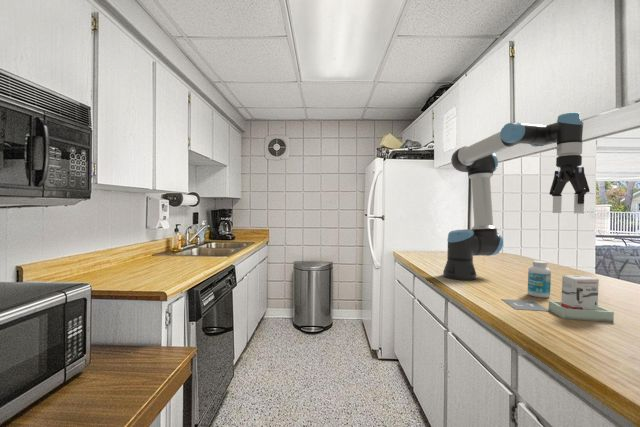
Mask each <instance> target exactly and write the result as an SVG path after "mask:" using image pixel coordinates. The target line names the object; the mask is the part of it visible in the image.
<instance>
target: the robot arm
mask: <svg viewBox="0 0 640 427" xmlns="http://www.w3.org/2000/svg"><path fill="white" fill-rule="evenodd" d="M583 131H584V121H583V122H582V121H580V119H579V114H578V113H577V111H573V112H571V111H570V112H565V113H562V114H560V115H558V117H557V119H556V122H554V123H550V124H545V125H543V124H532V123H521V122H508V123H506V124H504V126H503V127H502V128H501V130H500V131H499V132H497V133H495V134H492V135H490V136H488V137H485V138H483V139H482V140H479V141H476V142H475V143H473V144H471V145H469V146H468V145H467V146H466V145H464V146H462V147H459V148H457V149H456V150H455V151H454V152H453V153H452V155H451V158H450V159H451V160H450V161H451V162H450V163H451V165H452V166H453V168H454V169H455V170H456V171H458V172H461V173H467V176H468V179H470V180H471V190H472V191H471V193H472V194H471V195H472V210H473V212H472V213H473V227H472V228H470V229H469V228H468V229H466V228H465V229H454V230H451V231H449V232H448V234H447V258H446V263H445V266H444V268H443V271H442V272H443V274H442V276H443V277H444V278H447V279H452V280H460V281H473V280H476V279H477V272H476V269H475V265H474V257H475V256H476V257H477V256H478V257H479V256H486V257H487V256H488V257H490V256H496V255H497V254H499V253H500V252H501V251H502V249H503V246H504V238H503V236H502V234H501V233H500V232H498V228H497V227H496V226H494V220H493V218H494V217H493V204H492V203H493V202H492V190H491V188H492V186H491V185H492V184H491V178H492V177H493V176H494V173H495V171H496V170H497V169H498V165H499V160H498V156H497V155H496V153H498V152H501V151H503V150H504V151H505V150H506V149H508V148H509V149H510V148H511V147H513V146H516V145H520V144H523V145H524V144H525V145H530V146H532V147H534V148H535V147H543V146H547V145H552V144H555V143H556V148H555V150H556V157H555V160H556V161H555V166H556V167H557V168H559V170H554V176H553V180H552V183H551V186H550V189H549V195H551V196H552V214H562V202H563V201H562V198H563V195H562V193H563V190H564V189H565V187H566V185H567V184H568V183H569V182H570V185H571V186H572V188H573V190H574V193H573V214H583V215H584V213H585V212H584V209H585V196H586V195H587V193H590V187H589V184H588V180H587V177H586V173H585V167H584V166H582V163H583V156H582V154H583Z"/></svg>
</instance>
